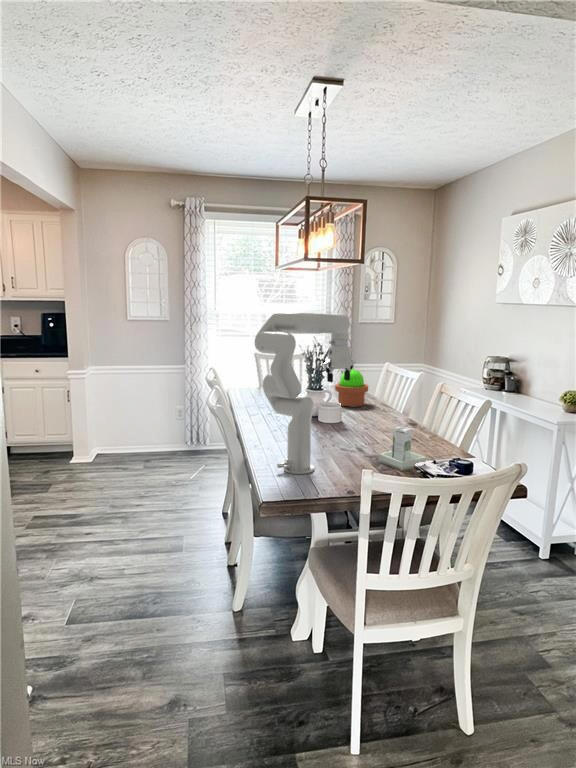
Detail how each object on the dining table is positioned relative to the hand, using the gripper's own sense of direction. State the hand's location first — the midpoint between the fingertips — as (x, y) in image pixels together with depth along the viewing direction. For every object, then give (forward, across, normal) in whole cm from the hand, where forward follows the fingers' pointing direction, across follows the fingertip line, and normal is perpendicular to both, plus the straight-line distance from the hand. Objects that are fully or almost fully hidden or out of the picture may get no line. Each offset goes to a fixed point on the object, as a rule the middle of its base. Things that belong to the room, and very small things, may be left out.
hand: (338, 381), depth 215 cm
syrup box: (+32, +14, -27) cm, 44 cm away
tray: (+33, +14, -27) cm, 45 cm away
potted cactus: (+34, +73, +77) cm, 111 cm away
